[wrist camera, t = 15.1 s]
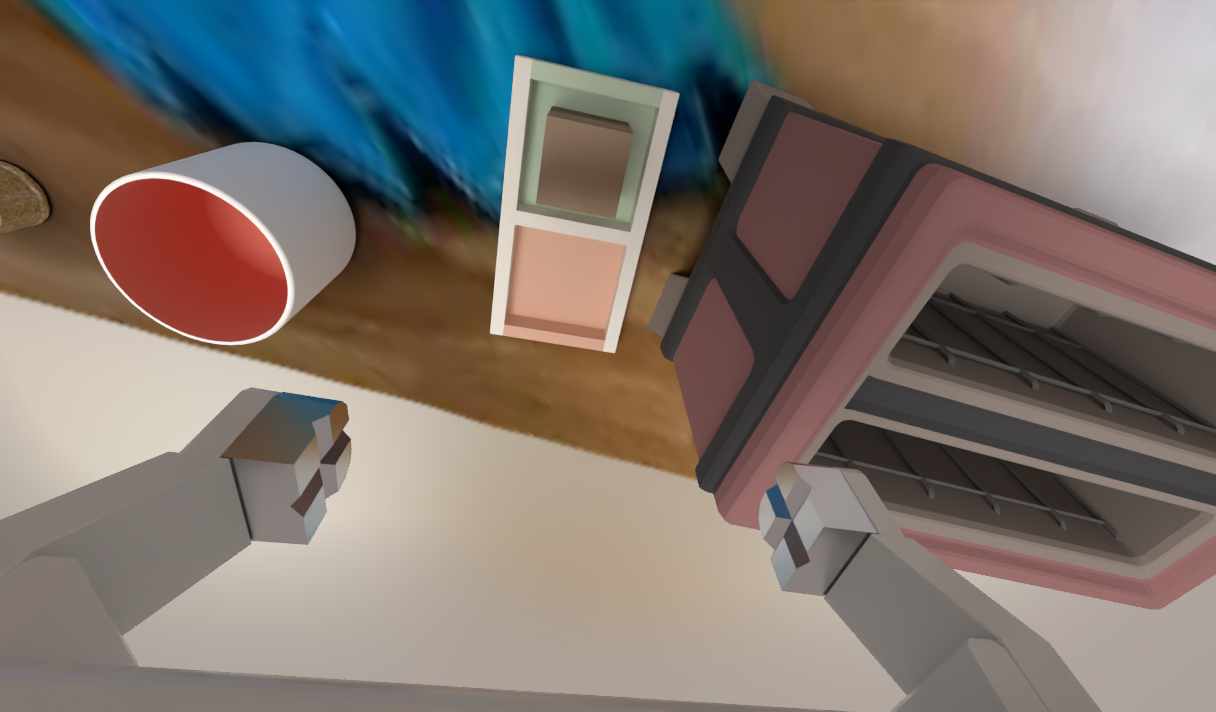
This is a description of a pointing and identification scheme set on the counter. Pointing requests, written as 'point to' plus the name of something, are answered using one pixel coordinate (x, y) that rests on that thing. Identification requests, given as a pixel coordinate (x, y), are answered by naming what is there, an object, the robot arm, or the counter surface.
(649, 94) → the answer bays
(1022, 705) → the robot arm
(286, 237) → the cup
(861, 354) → the toaster
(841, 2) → the counter surface
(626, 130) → the walnut block
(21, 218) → the sprinkles bottle
